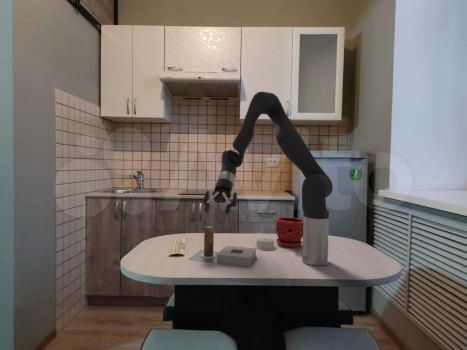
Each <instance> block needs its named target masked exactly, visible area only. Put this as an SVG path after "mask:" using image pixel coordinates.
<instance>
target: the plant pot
mask: <svg viewBox="0 0 467 350" xmlns="http://www.w3.org/2000/svg"><path fill="white" fill-rule="evenodd" d="M275 231H276V236H277V238H276V240H275V241H276V243H277V244H278V245H279V246H282V247H286V248H298V247H301V245H303V219H302V218H296V217H288V216H287V217H286V216H282V217H277V218H276V221H275Z"/></svg>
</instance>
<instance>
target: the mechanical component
mask: <svg viewBox="0 0 467 350" xmlns="http://www.w3.org/2000/svg"><path fill="white" fill-rule="evenodd" d="M255 241H256V242H255V244H254V245H253V248H256V250H260V251H273V250H276V249H277V247H278V246H277V245H275V244H274V242H275V240H274V239H272V238H270V237H259V238H256V240H255Z"/></svg>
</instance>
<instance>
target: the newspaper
mask: <svg viewBox="0 0 467 350" xmlns="http://www.w3.org/2000/svg"><path fill="white" fill-rule="evenodd" d="M169 250H170V251H169V254H168V256H169V257H171V256H173V255H182V256H183V257H184V256H185V255H186V254H185V252H186V239H185V238H182V237H181V238H179V237H177V238H173V239H172V241H171V246H170V249H169Z"/></svg>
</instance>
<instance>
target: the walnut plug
mask: <svg viewBox="0 0 467 350" xmlns="http://www.w3.org/2000/svg"><path fill="white" fill-rule="evenodd" d="M203 228H204V231H203V232H204V235H203V237H204V238H203V250H204V256H205V257H212V256H213V251H214V241H215V239H214V237H215V232H214V231H215V230H214V229H215V227H214V226H213V225H206V226H204V227H203Z"/></svg>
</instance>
